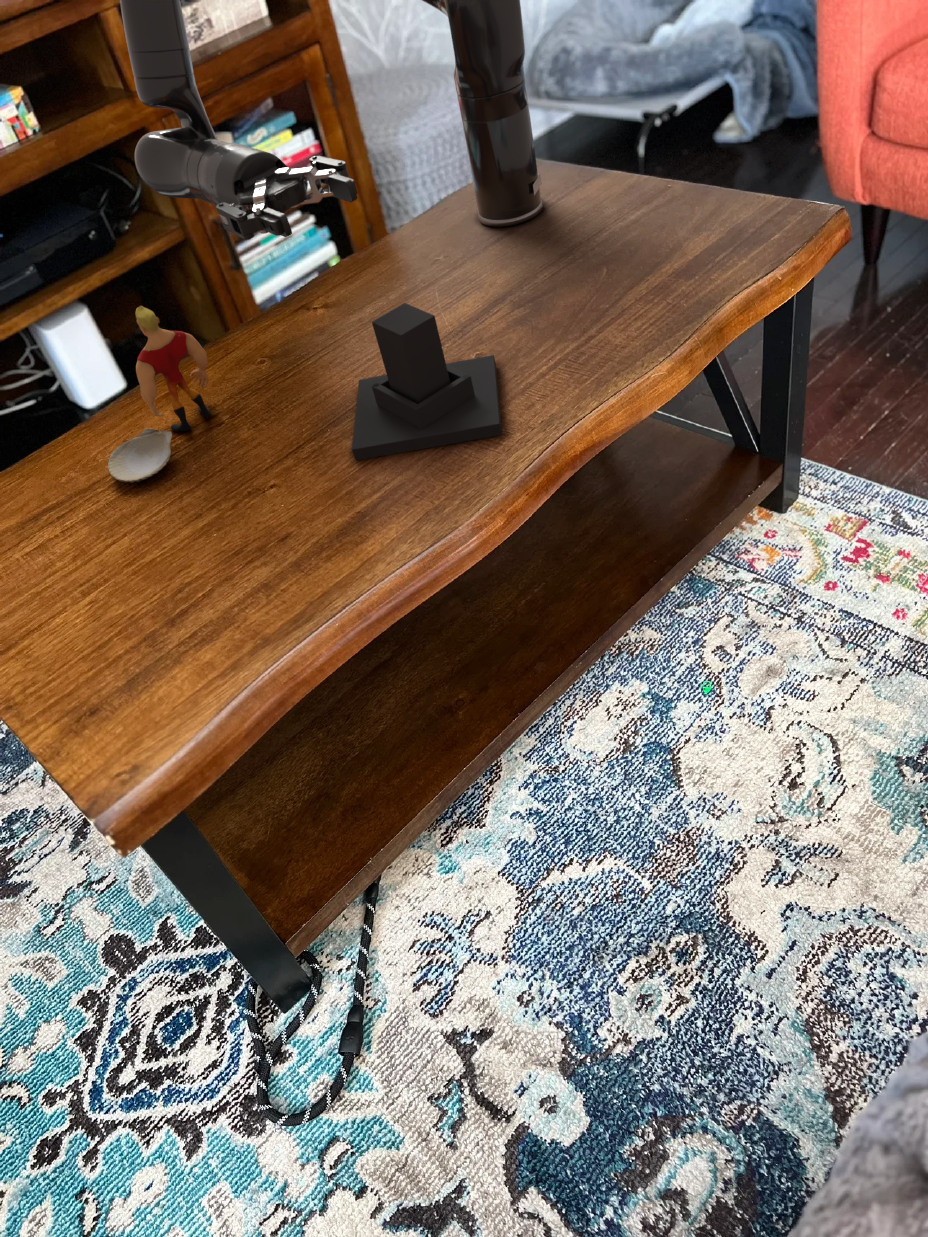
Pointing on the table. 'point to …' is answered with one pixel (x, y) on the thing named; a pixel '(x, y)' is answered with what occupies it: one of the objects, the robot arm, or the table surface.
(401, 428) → the socket pad
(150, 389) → the action figure
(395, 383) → the black rectangular block
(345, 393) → the table surface
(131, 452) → the scallop shell
